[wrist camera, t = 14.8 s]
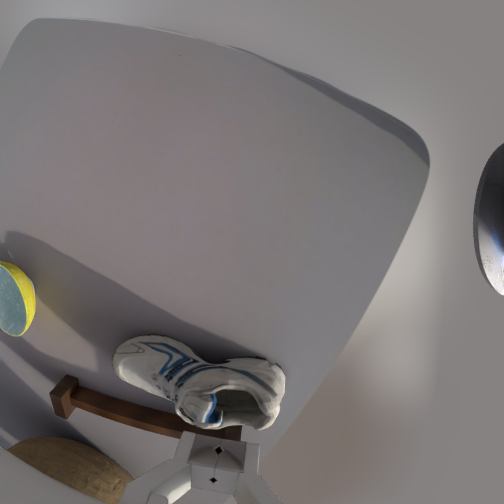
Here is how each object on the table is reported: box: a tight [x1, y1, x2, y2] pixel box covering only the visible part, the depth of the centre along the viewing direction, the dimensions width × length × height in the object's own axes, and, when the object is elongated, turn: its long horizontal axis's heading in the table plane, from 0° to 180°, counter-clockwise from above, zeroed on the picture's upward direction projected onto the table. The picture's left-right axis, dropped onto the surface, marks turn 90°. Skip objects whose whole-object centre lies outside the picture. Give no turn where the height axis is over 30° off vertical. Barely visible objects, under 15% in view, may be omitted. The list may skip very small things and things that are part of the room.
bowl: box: [0, 261, 36, 336], centre depth 36 cm, size 11×12×6 cm
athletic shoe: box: [112, 334, 285, 430], centre depth 35 cm, size 10×23×12 cm, turn 89°
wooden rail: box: [49, 374, 242, 441], centre depth 40 cm, size 30×5×6 cm, turn 81°
